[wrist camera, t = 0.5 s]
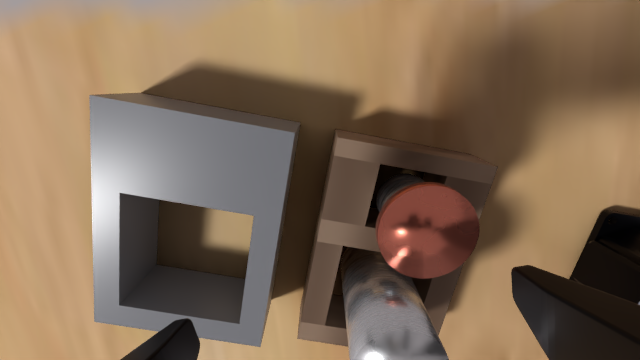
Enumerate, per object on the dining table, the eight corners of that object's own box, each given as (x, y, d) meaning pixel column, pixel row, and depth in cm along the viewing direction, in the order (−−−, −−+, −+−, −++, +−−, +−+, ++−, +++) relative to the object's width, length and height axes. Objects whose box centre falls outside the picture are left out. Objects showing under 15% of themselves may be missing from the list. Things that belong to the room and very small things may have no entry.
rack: (300, 122, 18) (294, 132, 14) (271, 300, 21) (260, 347, 18) (140, 92, 18) (89, 94, 14) (135, 278, 21) (94, 321, 17)
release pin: (451, 169, 16) (493, 196, 12) (429, 240, 17) (461, 285, 13) (374, 155, 16) (391, 178, 12) (357, 227, 17) (367, 270, 13)
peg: (409, 243, 20) (462, 339, 13) (393, 296, 21) (434, 414, 14) (347, 232, 20) (362, 323, 12) (334, 286, 21) (342, 401, 14)
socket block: (470, 154, 19) (497, 166, 16) (415, 323, 22) (429, 359, 19) (335, 129, 18) (337, 137, 15) (300, 304, 22) (297, 338, 19)
